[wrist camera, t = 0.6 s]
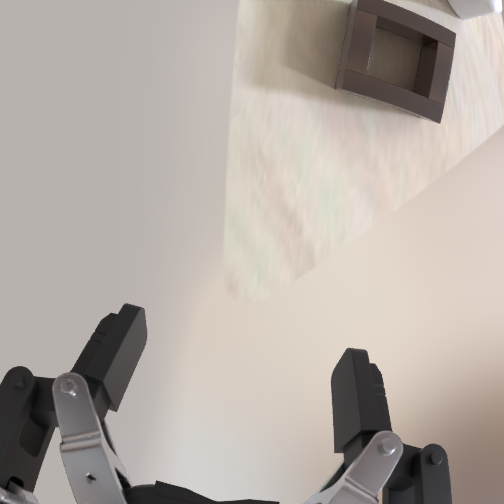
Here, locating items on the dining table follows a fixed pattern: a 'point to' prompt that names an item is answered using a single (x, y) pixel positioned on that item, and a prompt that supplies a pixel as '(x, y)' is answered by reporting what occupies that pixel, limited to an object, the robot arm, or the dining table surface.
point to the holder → (429, 69)
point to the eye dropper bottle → (475, 8)
